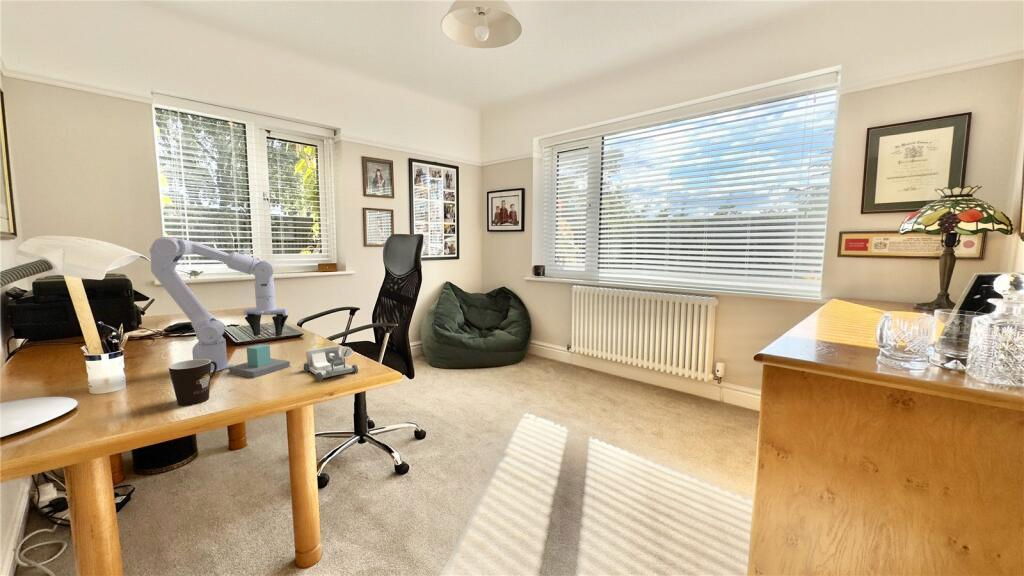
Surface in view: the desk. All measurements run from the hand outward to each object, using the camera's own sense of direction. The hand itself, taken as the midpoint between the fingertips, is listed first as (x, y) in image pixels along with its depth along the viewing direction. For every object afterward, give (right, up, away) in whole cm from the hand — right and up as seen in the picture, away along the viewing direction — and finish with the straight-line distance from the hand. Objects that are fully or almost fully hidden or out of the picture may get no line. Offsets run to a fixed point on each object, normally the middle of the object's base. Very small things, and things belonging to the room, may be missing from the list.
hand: (268, 335), depth 136 cm
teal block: (+2, -8, -8) cm, 12 cm away
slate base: (+2, -11, -7) cm, 13 cm away
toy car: (+27, -11, -10) cm, 31 cm away
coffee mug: (+2, -13, -31) cm, 34 cm away
